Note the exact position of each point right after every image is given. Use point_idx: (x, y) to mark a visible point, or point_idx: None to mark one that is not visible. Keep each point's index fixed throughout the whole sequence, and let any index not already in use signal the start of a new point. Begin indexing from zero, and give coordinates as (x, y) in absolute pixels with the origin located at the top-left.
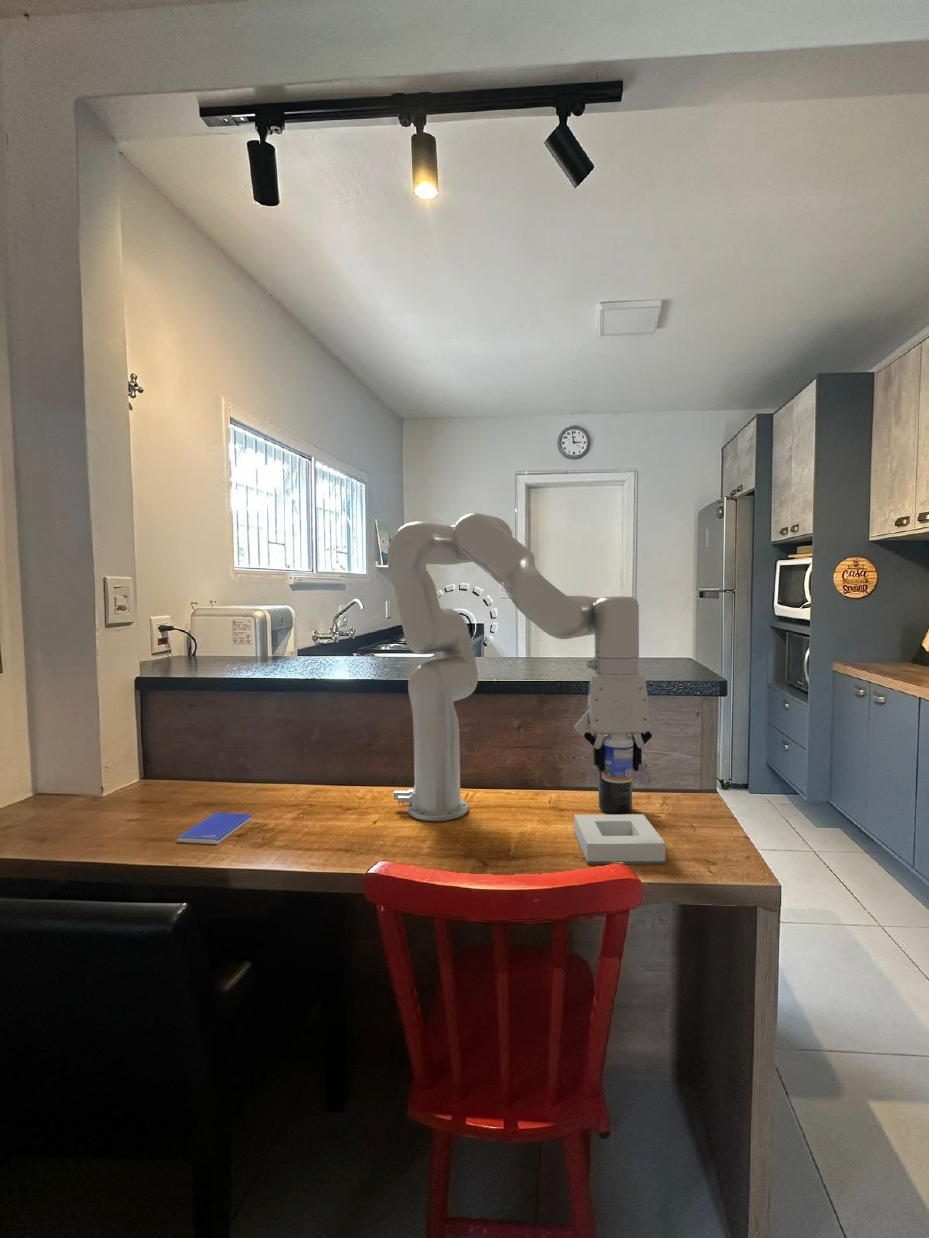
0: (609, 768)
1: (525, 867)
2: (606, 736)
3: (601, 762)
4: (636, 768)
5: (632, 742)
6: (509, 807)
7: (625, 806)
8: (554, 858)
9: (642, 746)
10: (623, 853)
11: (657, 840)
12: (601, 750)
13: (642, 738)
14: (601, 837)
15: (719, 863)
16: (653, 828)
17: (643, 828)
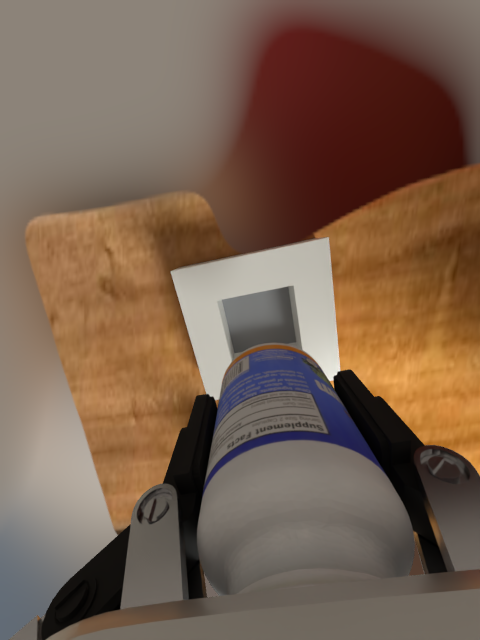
0: (316, 373)
1: (432, 201)
2: (397, 573)
3: (361, 389)
4: (204, 398)
5: (202, 514)
6: (431, 442)
7: None
8: (373, 252)
9: (148, 498)
10: (252, 252)
11: (185, 282)
12: (397, 434)
13: (127, 567)
14: (295, 277)
15: (94, 286)
16: (191, 339)
17: (210, 336)
